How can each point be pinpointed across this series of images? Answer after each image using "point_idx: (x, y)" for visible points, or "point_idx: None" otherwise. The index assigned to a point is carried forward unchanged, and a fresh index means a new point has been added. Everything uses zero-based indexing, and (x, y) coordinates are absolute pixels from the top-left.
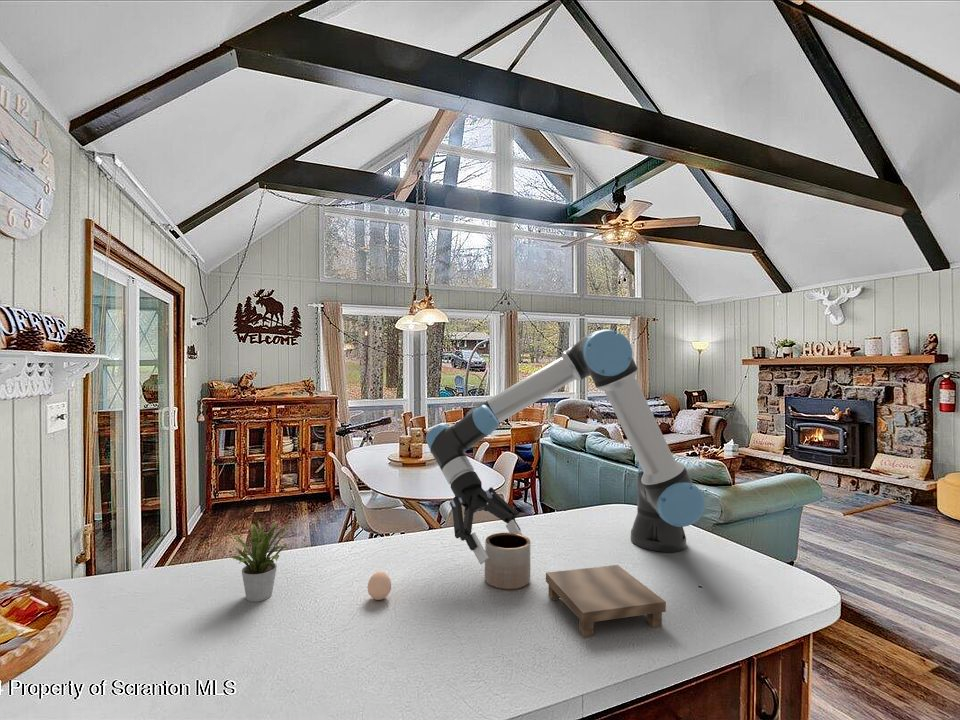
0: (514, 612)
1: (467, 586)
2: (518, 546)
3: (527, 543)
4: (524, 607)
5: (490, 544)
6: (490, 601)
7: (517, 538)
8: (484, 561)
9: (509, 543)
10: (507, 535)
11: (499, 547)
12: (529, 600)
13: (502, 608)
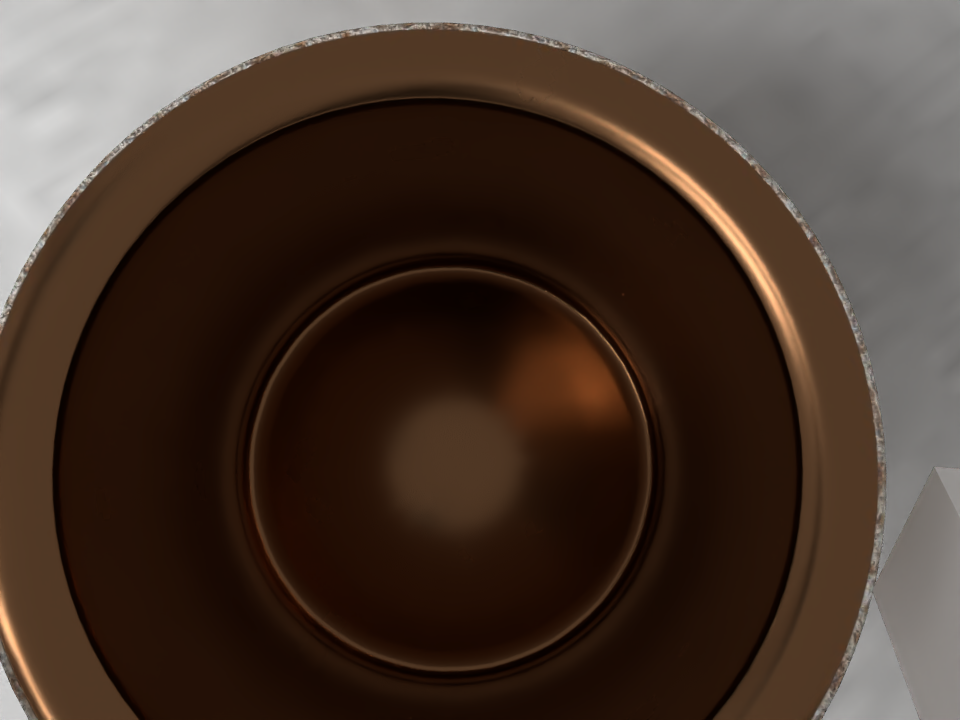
0: (911, 24)
1: (858, 690)
2: (137, 462)
3: (303, 73)
4: (779, 12)
5: (853, 575)
6: (919, 303)
7: (78, 488)
8: (903, 546)
9: (167, 628)
10: (135, 694)
11: (845, 338)
12: (643, 51)
13: (935, 141)
